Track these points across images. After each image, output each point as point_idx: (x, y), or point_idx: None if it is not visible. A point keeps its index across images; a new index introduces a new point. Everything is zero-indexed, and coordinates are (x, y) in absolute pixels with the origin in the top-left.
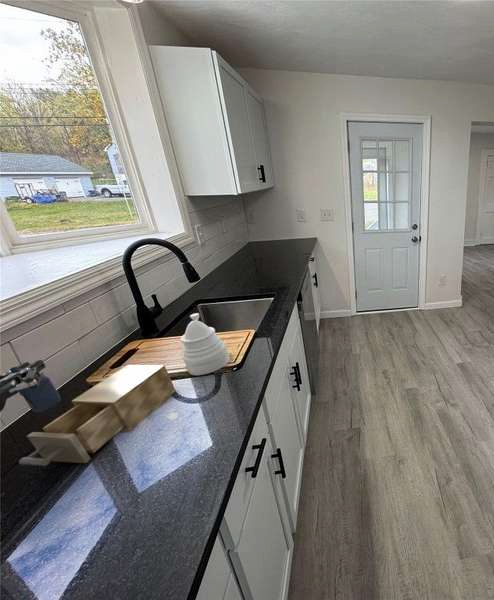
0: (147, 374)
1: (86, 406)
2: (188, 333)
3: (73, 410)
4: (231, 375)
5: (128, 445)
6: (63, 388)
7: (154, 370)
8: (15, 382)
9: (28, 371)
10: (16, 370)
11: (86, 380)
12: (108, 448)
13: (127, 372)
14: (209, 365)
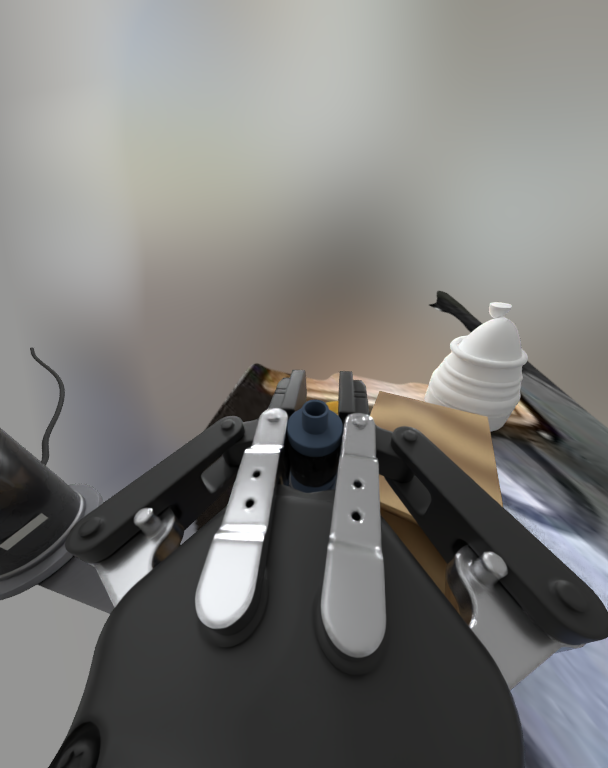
0: (477, 439)
1: None
2: (494, 345)
3: None
4: (562, 455)
5: (525, 692)
6: (238, 393)
7: (481, 429)
8: (433, 582)
9: (407, 454)
10: (326, 424)
11: (263, 387)
12: None
13: (406, 415)
14: (501, 418)
